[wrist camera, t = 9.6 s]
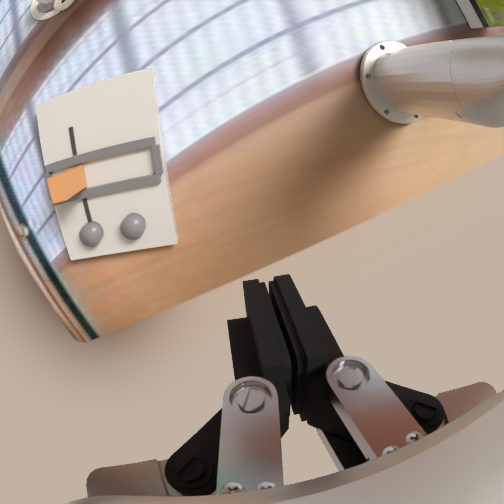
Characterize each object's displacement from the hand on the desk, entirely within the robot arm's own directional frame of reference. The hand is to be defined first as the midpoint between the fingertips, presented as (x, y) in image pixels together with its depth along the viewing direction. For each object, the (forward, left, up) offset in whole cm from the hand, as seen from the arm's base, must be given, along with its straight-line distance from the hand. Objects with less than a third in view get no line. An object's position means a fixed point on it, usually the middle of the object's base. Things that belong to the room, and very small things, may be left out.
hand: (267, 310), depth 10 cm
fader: (+18, -3, -25) cm, 31 cm away
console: (+15, -3, -27) cm, 31 cm away
